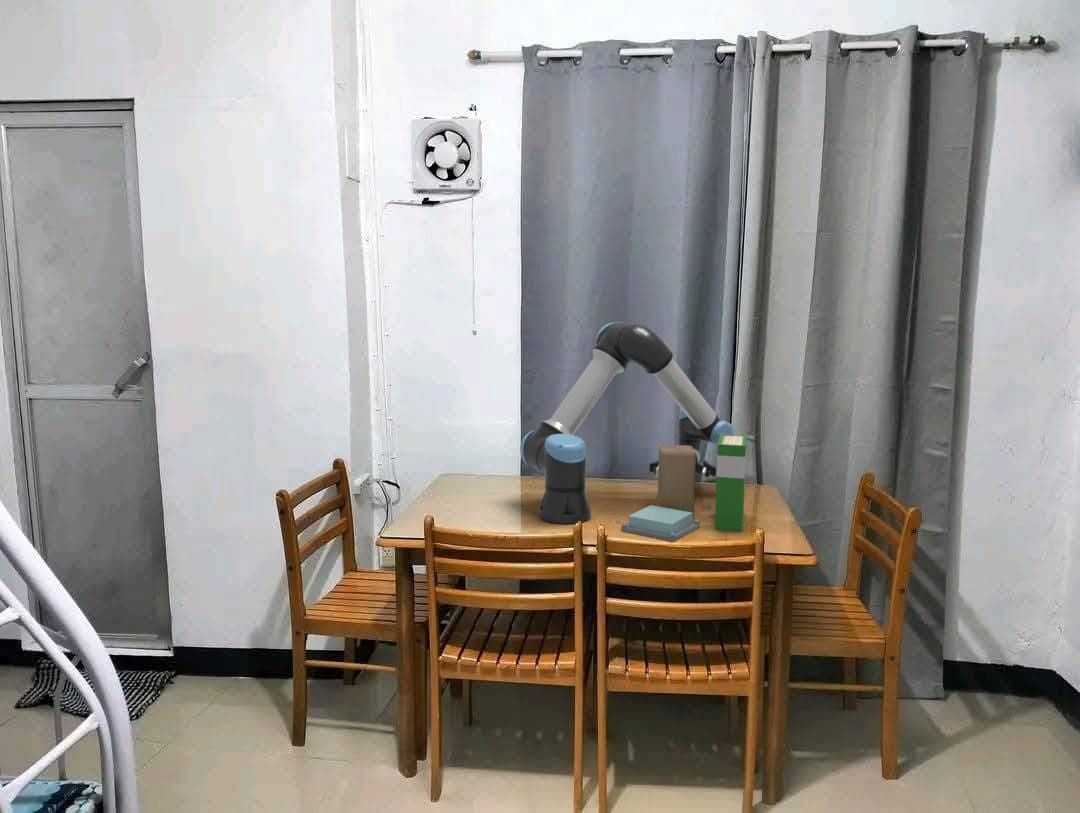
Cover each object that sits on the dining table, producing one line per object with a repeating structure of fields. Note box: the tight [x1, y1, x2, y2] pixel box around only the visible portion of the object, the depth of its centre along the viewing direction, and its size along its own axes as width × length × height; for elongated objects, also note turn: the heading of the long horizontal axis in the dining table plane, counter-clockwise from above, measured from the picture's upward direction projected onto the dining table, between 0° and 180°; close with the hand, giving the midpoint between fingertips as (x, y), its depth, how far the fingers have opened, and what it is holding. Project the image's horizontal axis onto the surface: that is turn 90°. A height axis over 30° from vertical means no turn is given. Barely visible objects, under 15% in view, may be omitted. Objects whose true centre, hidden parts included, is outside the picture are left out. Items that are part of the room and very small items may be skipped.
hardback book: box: [714, 433, 748, 533], centre depth 226 cm, size 18×7×24 cm, turn 165°
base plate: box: [620, 504, 701, 542], centre depth 221 cm, size 16×16×4 cm
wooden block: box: [657, 444, 696, 517], centre depth 233 cm, size 10×10×20 cm
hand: (679, 475), depth 237 cm, fingers open, 13 cm apart
